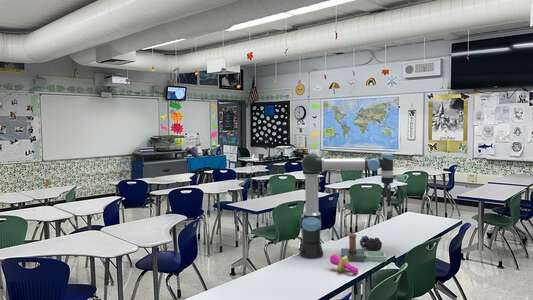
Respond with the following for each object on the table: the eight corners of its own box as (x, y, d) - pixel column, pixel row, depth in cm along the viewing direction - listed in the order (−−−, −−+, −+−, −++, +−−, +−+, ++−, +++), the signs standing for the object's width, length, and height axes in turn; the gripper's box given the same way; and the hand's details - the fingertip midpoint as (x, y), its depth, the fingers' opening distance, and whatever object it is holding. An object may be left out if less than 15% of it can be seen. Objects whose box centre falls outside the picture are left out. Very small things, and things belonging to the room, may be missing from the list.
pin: (348, 259, 259) (348, 235, 258) (348, 256, 264) (348, 233, 263) (356, 259, 258) (356, 236, 257) (356, 257, 263) (356, 233, 262)
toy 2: (365, 234, 284) (383, 239, 272) (365, 246, 285) (383, 251, 273) (357, 236, 279) (375, 241, 267) (357, 249, 280) (375, 254, 268)
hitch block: (341, 261, 255) (341, 255, 255) (341, 254, 269) (341, 248, 269) (364, 262, 253) (364, 256, 253) (363, 255, 267) (363, 249, 267)
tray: (366, 261, 255) (366, 256, 255) (365, 256, 265) (365, 251, 265) (386, 262, 253) (386, 256, 253) (384, 256, 263) (384, 251, 263)
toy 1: (350, 279, 229) (358, 262, 230) (323, 264, 239) (330, 247, 240) (355, 280, 238) (363, 263, 239) (328, 265, 247) (336, 249, 249)
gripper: (395, 179, 258) (395, 213, 260) (390, 174, 283) (390, 205, 284) (383, 179, 259) (383, 213, 261) (379, 174, 284) (379, 205, 285)
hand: (387, 209), depth 273 cm, fingers open, 13 cm apart
